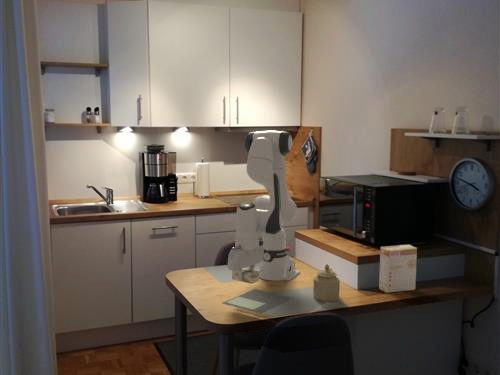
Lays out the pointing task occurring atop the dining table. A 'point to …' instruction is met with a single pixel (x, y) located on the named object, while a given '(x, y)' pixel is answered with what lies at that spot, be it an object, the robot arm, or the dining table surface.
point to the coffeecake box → (397, 268)
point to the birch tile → (247, 276)
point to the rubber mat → (257, 300)
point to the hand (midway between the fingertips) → (245, 276)
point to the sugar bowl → (326, 285)
